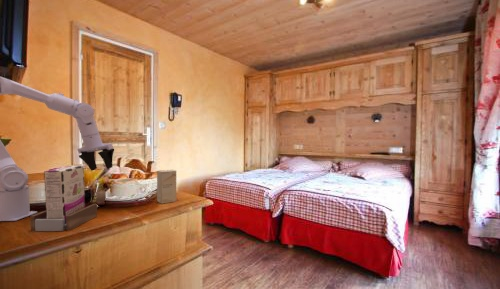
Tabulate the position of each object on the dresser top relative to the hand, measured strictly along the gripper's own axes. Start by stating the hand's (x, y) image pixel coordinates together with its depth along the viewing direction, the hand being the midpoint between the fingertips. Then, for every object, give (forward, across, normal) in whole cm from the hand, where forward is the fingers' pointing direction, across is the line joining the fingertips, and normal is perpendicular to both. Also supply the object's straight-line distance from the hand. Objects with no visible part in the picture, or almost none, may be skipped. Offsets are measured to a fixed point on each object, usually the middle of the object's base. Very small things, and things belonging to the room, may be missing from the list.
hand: (101, 168), depth 94 cm
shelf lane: (+8, -7, +24) cm, 26 cm away
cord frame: (+9, -6, +18) cm, 22 cm away
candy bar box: (+9, -7, +24) cm, 27 cm away
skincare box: (+17, -23, -2) cm, 28 cm away
